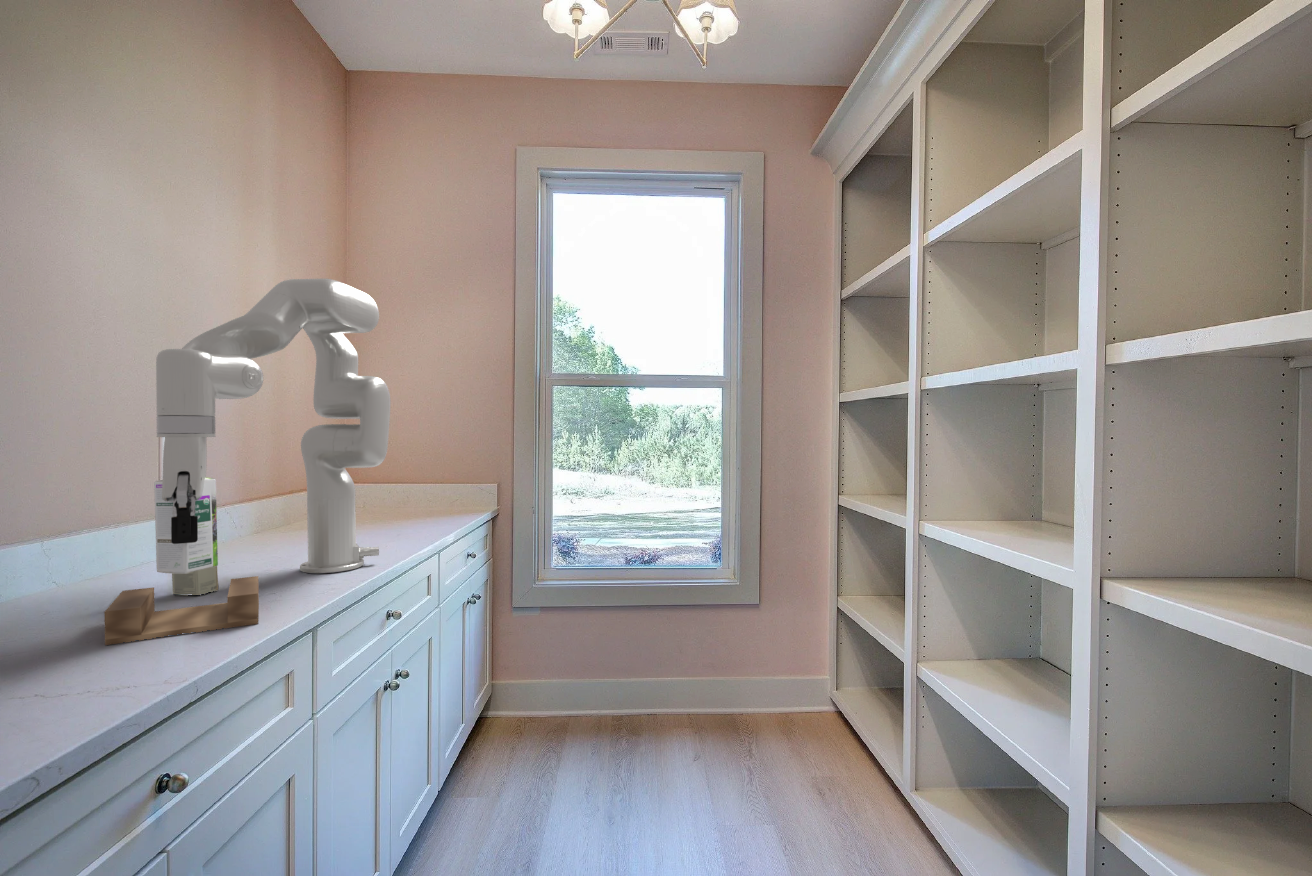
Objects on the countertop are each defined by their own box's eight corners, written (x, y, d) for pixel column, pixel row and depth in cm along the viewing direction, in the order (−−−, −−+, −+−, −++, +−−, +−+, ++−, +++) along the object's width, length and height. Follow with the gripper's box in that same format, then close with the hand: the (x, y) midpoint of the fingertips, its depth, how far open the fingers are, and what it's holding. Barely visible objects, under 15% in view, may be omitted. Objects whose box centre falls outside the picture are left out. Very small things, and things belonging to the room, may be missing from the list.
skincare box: (219, 591, 121) (218, 527, 121) (197, 597, 117) (196, 530, 116) (192, 589, 122) (191, 526, 122) (169, 595, 118) (168, 529, 118)
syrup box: (186, 574, 97) (185, 479, 97) (154, 572, 99) (153, 479, 99) (218, 566, 103) (217, 477, 103) (188, 565, 104) (187, 476, 104)
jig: (258, 603, 112) (258, 576, 112) (258, 623, 100) (257, 593, 100) (123, 620, 102) (122, 590, 102) (105, 645, 90) (104, 611, 90)
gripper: (164, 428, 106) (164, 534, 106) (148, 427, 91) (149, 549, 91) (218, 428, 110) (219, 530, 110) (211, 427, 95) (212, 544, 95)
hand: (187, 538), depth 101 cm, fingers closed on syrup box, 7 cm apart
